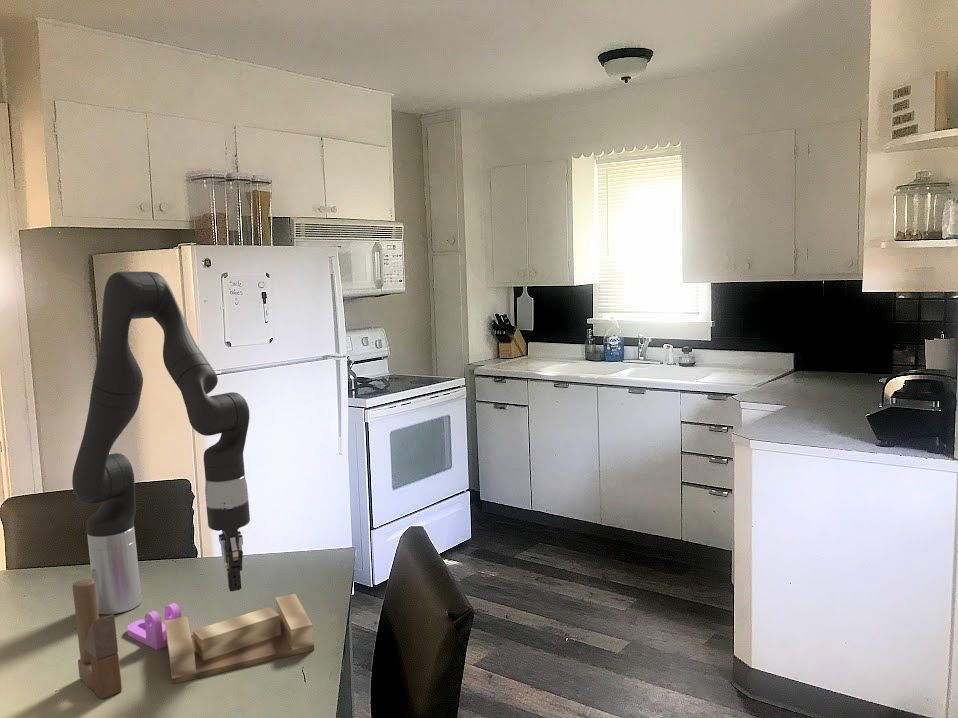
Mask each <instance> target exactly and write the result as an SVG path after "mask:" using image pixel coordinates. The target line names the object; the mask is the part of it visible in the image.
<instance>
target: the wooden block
mask: <svg viewBox="0 0 958 718" xmlns="http://www.w3.org/2000/svg"><path fill="white" fill-rule="evenodd" d="M72 594H73V595H72V596H73V602H74V603H73V605H74V612H75V622H76V630H77V631H76V632H77V639H78V640H77V641H78V648H79V657H80V659H77V665H78V673H79V674H78V676H79V678H80V680H82V681H83V682H84V684H85V685H87V687H89V688H90V689H91V690H92V691H93V692H94V693H95V694H96V695H97V696H98V697H99V699H101V700H103V699H106V698H109V697H111V696H114V695H116V694H119V693H121V692H122V691H123V687H122V677H121V668H120V660H119V659H120V657H119V653H118V652H119V648H118V647H119V646H118V640H117V638H118V637H117V628H116V621H115V620H116V619H115V614H108V615H106V616H104V617H100V616H99V615H100V614H98V605H97V596H96V586H95V581H94V580H93V579H91V578H85V579H82V580H78V581H76V582H74V583H72Z"/></svg>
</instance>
